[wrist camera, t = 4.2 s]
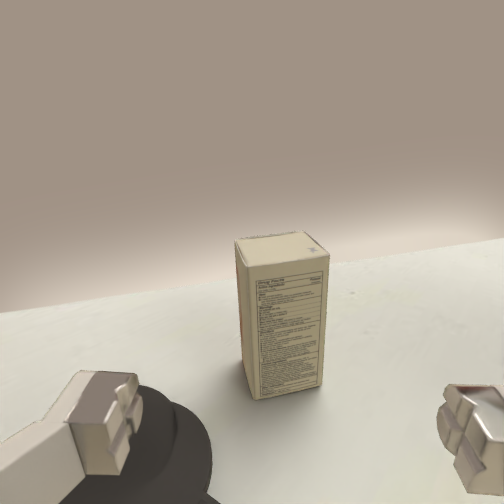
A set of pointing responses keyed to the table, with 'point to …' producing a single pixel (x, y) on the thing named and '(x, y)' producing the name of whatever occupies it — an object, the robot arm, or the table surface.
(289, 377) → the medicine box
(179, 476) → the black frying pan
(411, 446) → the table surface
